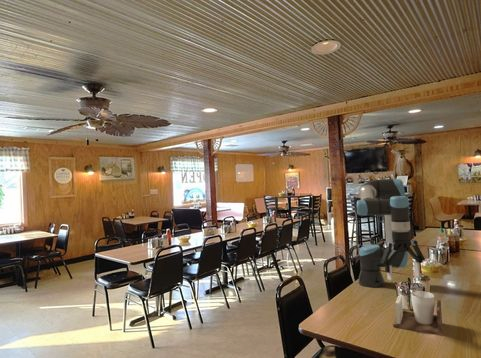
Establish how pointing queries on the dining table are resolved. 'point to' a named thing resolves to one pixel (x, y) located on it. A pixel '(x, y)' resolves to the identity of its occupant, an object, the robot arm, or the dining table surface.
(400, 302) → the divider
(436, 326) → the rack
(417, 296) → the cup
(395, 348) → the dining table surface
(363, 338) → the dining table surface
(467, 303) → the dining table surface
